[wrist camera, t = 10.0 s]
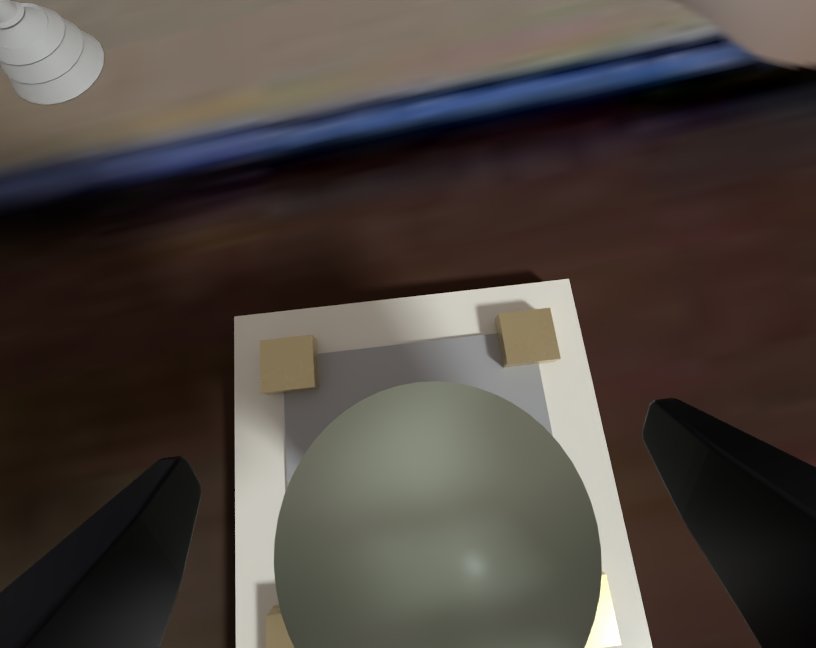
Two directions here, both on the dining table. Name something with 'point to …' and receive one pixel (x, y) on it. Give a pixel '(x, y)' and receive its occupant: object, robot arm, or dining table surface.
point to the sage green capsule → (437, 529)
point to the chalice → (46, 53)
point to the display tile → (403, 364)
